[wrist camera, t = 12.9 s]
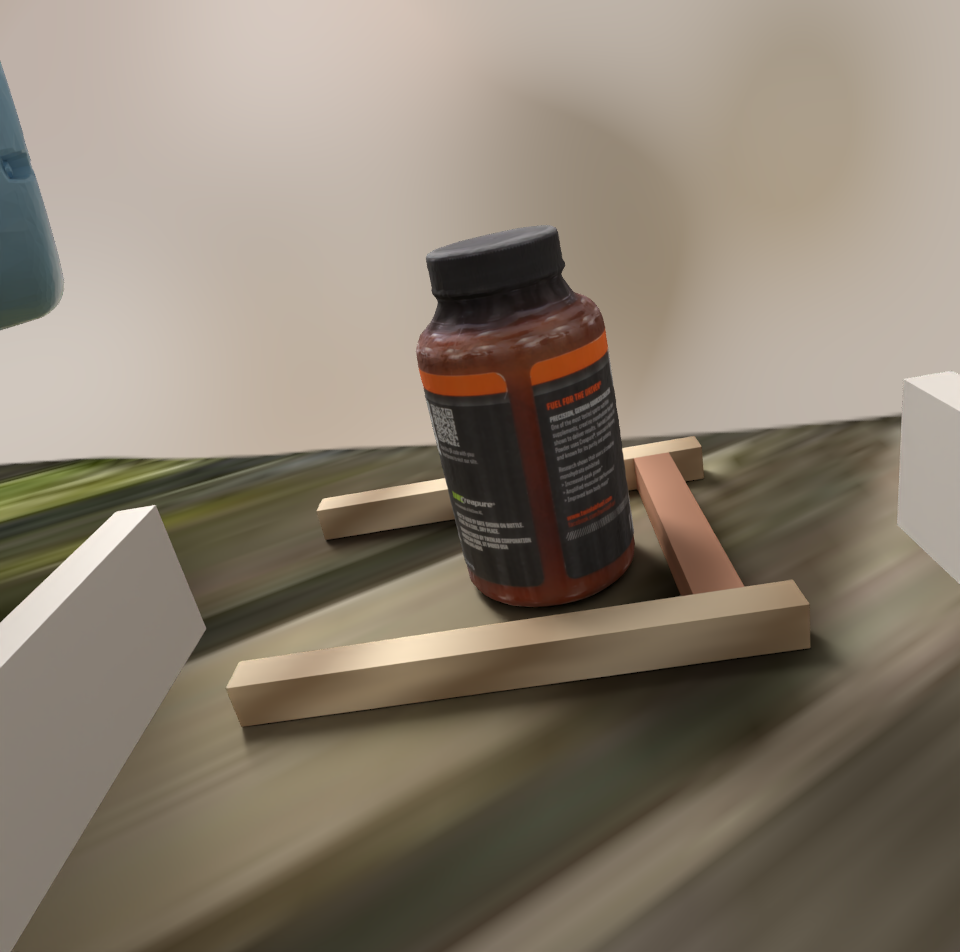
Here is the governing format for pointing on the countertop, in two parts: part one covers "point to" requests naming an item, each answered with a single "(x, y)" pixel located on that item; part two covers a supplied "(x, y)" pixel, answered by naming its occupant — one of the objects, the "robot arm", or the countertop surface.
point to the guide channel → (543, 640)
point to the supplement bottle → (525, 420)
